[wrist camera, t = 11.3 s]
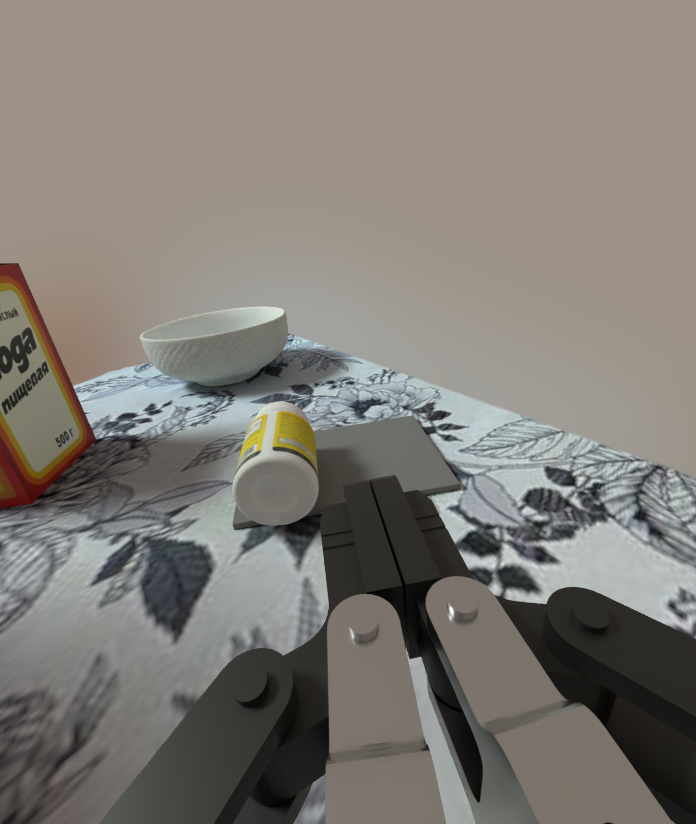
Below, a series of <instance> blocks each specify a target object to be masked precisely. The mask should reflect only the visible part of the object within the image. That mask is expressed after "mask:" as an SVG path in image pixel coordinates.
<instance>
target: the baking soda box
mask: <svg viewBox="0 0 696 824" xmlns="http://www.w3.org/2000/svg"><path fill="white" fill-rule="evenodd" d="M95 440H96V438H95V436H94V433H93V431H92V429H91V426H90V424H89V422H88V420H87V417H86V415H85V413H84V411H83V408H82V406H81V404H80V402H79V399H78V397H77V395H76V393H75V390H74V388H73V386H72V384H71V382H70V379H69V377H68V375H67V372H66V370H65V368H64V366H63V363H62V361H61V359H60V357H59V354H58V352H57V350H56V347H55V345H54V343H53V341H52V338H51V336H50V334H49V332H48V330H47V327H46V325H45V323H44V321H43V318H42V316H41V314H40V311H39V309H38V307H37V305H36V302H35V300H34V298H33V296H32V293H31V291H30V289H29V286H28V284H27V282H26V280H25V277H24V275H23V273H22V271H21V269H20V266H19V264H18V263H13V264H12V263H11V264H0V508H4V507H11V506H18V505H26V504H32V503H33V502H34V501H35V500H36V499H37V498H38V497H39V496H40V495H41V494H42V493H43V492H44V491H45V490H46V489H47V488H48V487H49V486H50V485H51V484H52V483H53V482H54V481H55V480H56V479H57V478H58V477H59V476H60V475H61V474H62V473H63V472H64V471H65V470H66V469H67V468H68V467H69V466H70V465H71V464H72V463H73V462H74V461H75V460H76V459H77V458H78V457H79V456H80V455H81V454H82V453H83V452H84V451H85V450H86V449H87V448H88V447H89V446H90V445H91V444H92V443H93V442H94V441H95Z"/></svg>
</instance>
